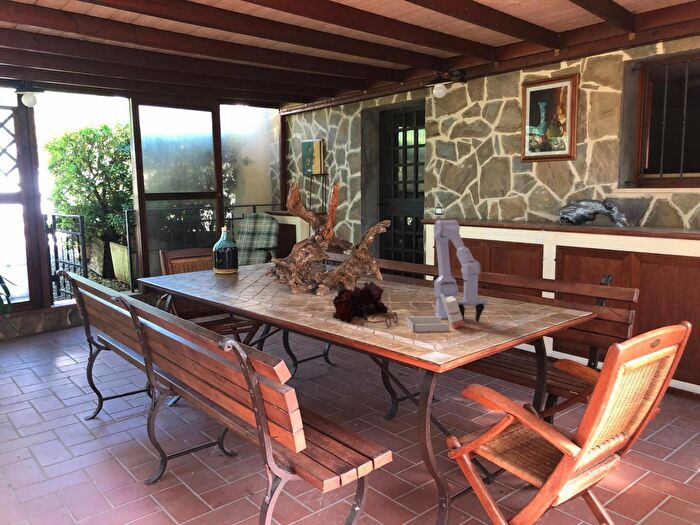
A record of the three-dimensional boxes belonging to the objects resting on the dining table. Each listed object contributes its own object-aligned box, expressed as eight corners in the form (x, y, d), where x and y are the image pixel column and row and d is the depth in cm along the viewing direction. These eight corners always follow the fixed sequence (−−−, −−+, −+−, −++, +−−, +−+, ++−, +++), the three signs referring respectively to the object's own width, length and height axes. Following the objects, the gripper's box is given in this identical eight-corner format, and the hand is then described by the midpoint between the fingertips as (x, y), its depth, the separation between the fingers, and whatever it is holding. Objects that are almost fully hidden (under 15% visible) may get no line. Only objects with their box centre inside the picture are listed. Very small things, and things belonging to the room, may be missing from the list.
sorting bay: (406, 323, 236) (406, 316, 236) (440, 322, 238) (440, 315, 237) (412, 332, 223) (413, 323, 222) (448, 331, 224) (449, 323, 223)
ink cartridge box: (465, 325, 227) (455, 292, 225) (454, 329, 227) (443, 296, 225) (460, 320, 235) (449, 289, 233) (449, 324, 235) (438, 292, 233)
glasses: (387, 329, 229) (387, 317, 229) (359, 326, 235) (359, 314, 234) (398, 322, 241) (398, 311, 240) (371, 319, 247) (371, 308, 246)
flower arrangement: (355, 324, 237) (355, 290, 235) (321, 318, 249) (320, 285, 247) (394, 311, 261) (394, 280, 259) (361, 306, 273) (361, 276, 271)
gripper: (456, 292, 225) (455, 324, 227) (490, 291, 226) (489, 323, 228) (451, 289, 232) (451, 320, 234) (484, 288, 233) (484, 319, 235)
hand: (469, 321), depth 231 cm, fingers open, 6 cm apart
